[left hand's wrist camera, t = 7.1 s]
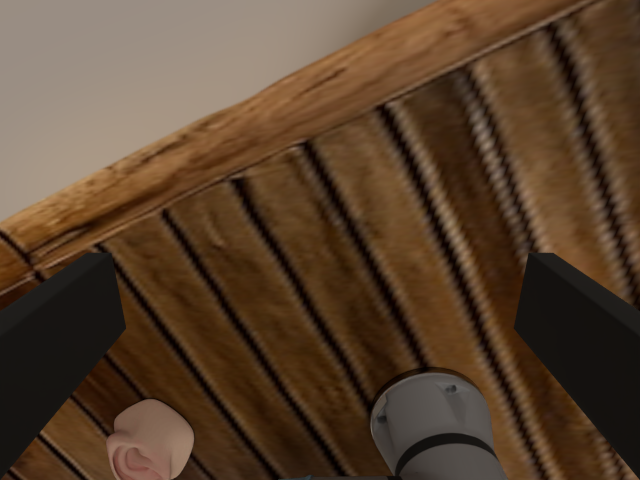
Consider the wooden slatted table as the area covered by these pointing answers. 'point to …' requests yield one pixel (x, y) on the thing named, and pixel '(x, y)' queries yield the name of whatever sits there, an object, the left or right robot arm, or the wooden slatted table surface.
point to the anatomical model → (149, 442)
